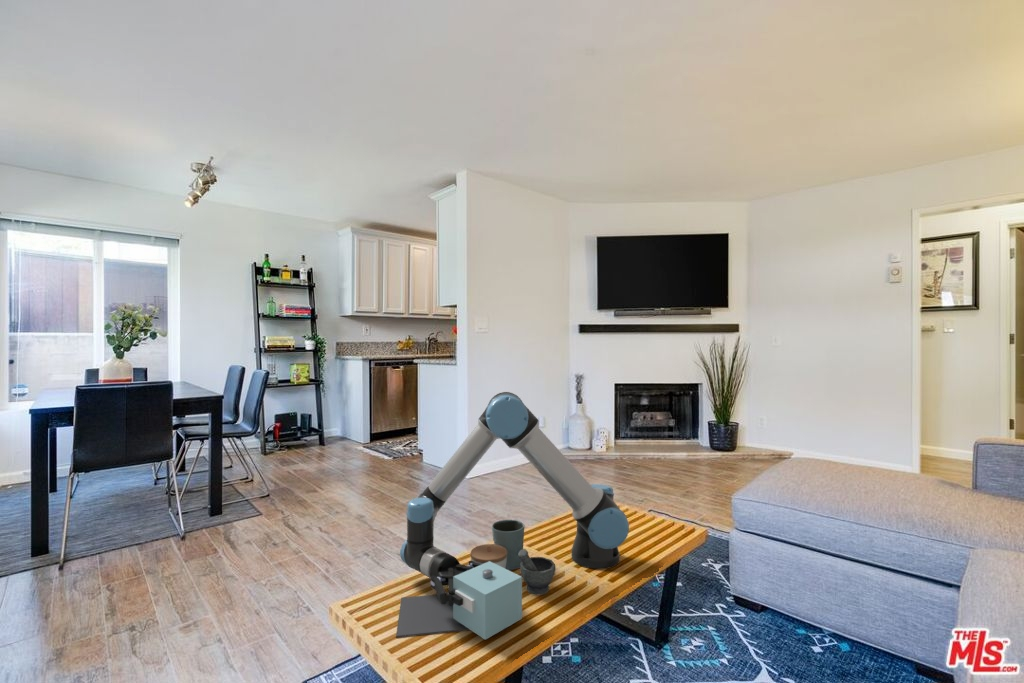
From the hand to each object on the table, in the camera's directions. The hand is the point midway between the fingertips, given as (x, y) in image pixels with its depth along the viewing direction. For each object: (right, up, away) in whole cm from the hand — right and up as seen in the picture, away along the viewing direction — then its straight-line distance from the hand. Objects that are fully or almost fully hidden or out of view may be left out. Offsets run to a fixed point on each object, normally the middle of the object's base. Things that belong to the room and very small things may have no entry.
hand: (493, 596), depth 111 cm
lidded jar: (-2, -8, +25) cm, 26 cm away
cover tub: (-2, -6, +1) cm, 6 cm away
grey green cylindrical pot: (+3, -9, +34) cm, 35 cm away
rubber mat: (-16, -8, +6) cm, 18 cm away
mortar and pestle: (+11, -8, +18) cm, 22 cm away
